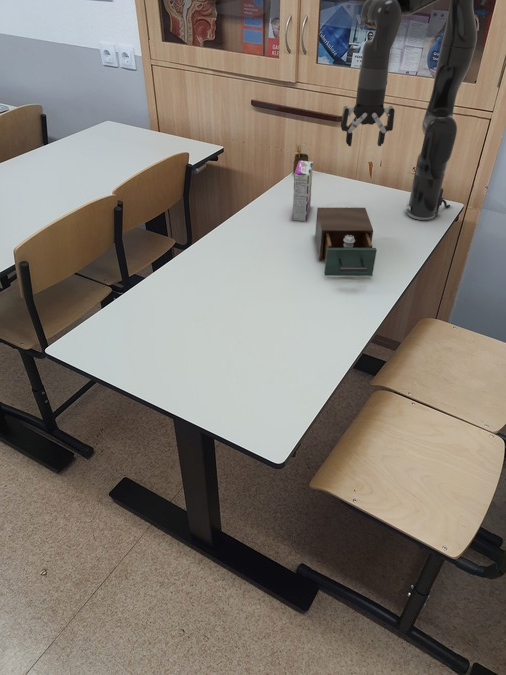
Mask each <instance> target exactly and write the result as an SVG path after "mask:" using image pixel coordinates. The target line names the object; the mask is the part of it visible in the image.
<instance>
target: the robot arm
mask: <svg viewBox="0 0 506 675" xmlns="http://www.w3.org/2000/svg"><path fill="white" fill-rule="evenodd" d="M438 1H439V0H366V1H365V2H364V4H363V6H362V8H361V12H360V14H361V15H360V17H361V21H362V23H363V24H364V25H365V26H366V27H368V28H370V29H373V30H375V32H374V35H373V38H372V39H369V40H366V41H365V43H364V45H363V47H362V55H361V62H360V70H359V73H358V80H357V81H358V82H357V89H356V96H355V97H356V98H355V105H354V107H348V106H347V105H345V106H343V109H342V115H341V121H340V128H341V131H343V132H345V133H346V137H345V143H346V145H347V146H348V147H352V143H353V131H354V130H355V129H357V128H358V126H359V125H363V126H364V125H370V126H371V125H372V126H373V125H374V124H376V125H377V127H378V129H379V130H378V136H377V146H378V147H382V145H384V143H385V138H386V133H388V132H392V131H393V129H394V121H395V120H394V119H395V113H396V112H395V111H396V110H395V108H394V107H393V106H392V105H389V107H384V106H385V98H386V97H385V96H386V91H387V85H388V76H389V63H390V57H391V50H392V47H393V45H394V42H395V39H396V38H397V34H398V32H399V30H400V26H401V23H402V17H403V16H410V15H413V14H415V13H417V12H419V11H422V10H423V9H425V8H427V7H428V6H430V5H432V4H435V3H436V2H438ZM474 11H475V10H474V0H450V2H449V8H448V12H447V17H446V21H445V22H446V23H445V27H444V30H443V31H444V33H443V36H442V39H441V43H440V48H439V52H438V58H437V63H436V69H435V73H434V78H433V79H434V80H433V86H432V92H431V94H430V99H429V102H428V105H427V108H426V111H425V113H424V116H423V120H422V124H421V129H422V133H423V135H424V137H423V141H422V146H421V147H422V148H421V151H420V153H419V154H418V155H417V158H416V164H415V170H414V175H413V180H412V185H411V190H410V196H409V200H408V202H407V204H406V207H407V209H406V215H407V216H408V217H410V218H411V219H413V220H418V221H430V220H433V219H435V217H438V215H439V210H440V207H441V206H442V203H443V207H444V208H446V209H448V208H450V207H451V204H448V203H447V201H446V200H445V199H444V197H443V195H444V188H443V182H444V178H445V175H446V170H447V166H448V162H449V161H450V159H451V156H452V154H453V149H454V147H455V142H456V138H457V135H458V134H457V132H458V125H457V122H456V120H455V118H454V109H455V104H456V99H457V95H458V92H459V89H460V88H461V86H462V83H463V81H464V80H465V78H466V76H467V74H468V71H469V69H470V67H471V64H472V61H473V57H474V53H475V50H476V46H477V43H478V42H477V41H478V30H477V22H476V17H475V12H474ZM384 113H385V115H386V117H387V120H386V125H384V124H383V122H382V121H381V117H382V116H383V115H384ZM352 114H353V115H354V117H353V119H352V120H351V122H350V123H349V124H348V120H349V117H351V115H352Z"/></svg>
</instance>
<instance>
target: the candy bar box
mask: <svg viewBox="0 0 506 675" xmlns="http://www.w3.org/2000/svg"><path fill="white" fill-rule="evenodd" d="M313 166H314V161H310V160H308V161H299V162H298V165H297V168H296V171H295V173H293V201H292V221H295V222H307V220H308V218H309V213H310V210H311V202H312V186H313V185H312V184H313V169H314V168H313Z"/></svg>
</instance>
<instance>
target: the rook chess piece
mask: <svg viewBox="0 0 506 675" xmlns="http://www.w3.org/2000/svg"><path fill="white" fill-rule="evenodd" d="M343 241H344V242H345V243H344V248H353V246H354V245H353V243H354V242H355V239H354V236H352V235H350V236H349V235H347V237H346V236H345V238H344V239H343Z"/></svg>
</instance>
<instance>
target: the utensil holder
mask: <svg viewBox="0 0 506 675" xmlns="http://www.w3.org/2000/svg"><path fill="white" fill-rule="evenodd" d="M304 148H305V146H304V144H302V146H301V145H300V144H297V145H296V152H297V153H296V154H295V155H294V161H293V167H292V172H293V174H294V173H295V171H296V168H297V165H298V162H299V161H309V155H308V154H307V153H308V151H307V150H308V148H309V145H308V144H306V148H305V150H304ZM303 151H305V153H304V152H303Z"/></svg>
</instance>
